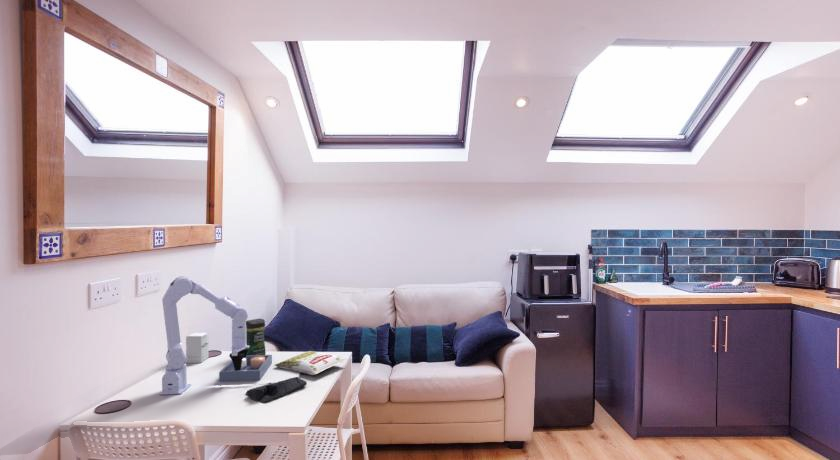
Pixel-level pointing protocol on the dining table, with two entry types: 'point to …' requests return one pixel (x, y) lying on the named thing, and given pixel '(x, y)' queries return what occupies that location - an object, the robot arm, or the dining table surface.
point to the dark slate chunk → (275, 389)
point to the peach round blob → (257, 362)
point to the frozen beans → (310, 362)
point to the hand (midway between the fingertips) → (239, 368)
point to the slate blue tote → (245, 371)
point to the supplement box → (196, 347)
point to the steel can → (243, 364)
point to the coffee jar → (255, 336)
